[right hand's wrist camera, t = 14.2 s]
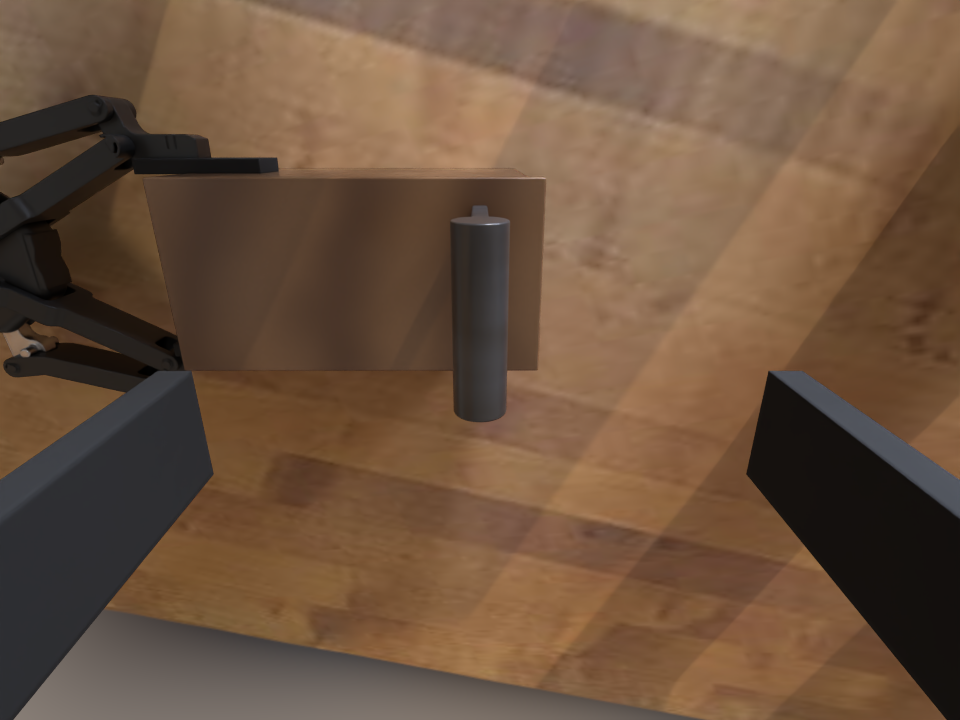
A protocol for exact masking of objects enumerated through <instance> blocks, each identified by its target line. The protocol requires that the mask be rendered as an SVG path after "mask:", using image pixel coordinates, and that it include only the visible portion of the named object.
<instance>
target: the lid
mask: <svg viewBox="0 0 960 720" xmlns="http://www.w3.org/2000/svg"><path fill="white" fill-rule="evenodd" d="M143 183H144V188H145V192H146V197H147V201H148V206H149V210H150V215H151V219H152V224H153V228H154V233H155V237H156V242H157V246H158V251H159V256H160V260H161V265H162V269H163V274H164V278H165V283H166V287H167V292H168V296H169V301H170V305H171V310H172V314H173V319H174V323H175V328H176V333H177V337H178V342H179V346H180V351H181V355H182V360H183V364H184V369H185V370H186V371H329V370H453V397H454V412H455V414H456V415H457V416H458V417H459V418H461V419H464V420H467V421H471V422H489V421H493V420H496V419H499V418H501V417H502V416H503V415H504V414H505V412H506V397H507V370H538V357H539V334H540V311H541V288H542V265H543V242H544V219H545V195H546V178H545V177H144V178H143Z"/></svg>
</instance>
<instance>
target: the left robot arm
mask: <svg viewBox="0 0 960 720" xmlns="http://www.w3.org/2000/svg"><path fill="white" fill-rule="evenodd" d="M98 132H103V134H101V135H99V136H100V137H103V138H105V139H103V140H102V141H100V142H99V143H97V144H96V145H94V146H93V147H91V148H90V149H88V150H87V151H85V152H84V153H82V154H81V155H79V156H78V157H76V158H75V159H73V160H72V161H70V162H69V163H67V164H66V165H64V166H63V167H61V168H60V169H58V170H57V171H55V172H54V173H52V174H51V175H49V176H48V177H46V178H45V179H43V180H42V181H40V182H39V183H37V184H36V185H34V186H33V187H31V188H30V189H28V190H27V191H25V192H24V193H22V194H21V195H19V196H16V197H13V198H10V197H8V196H6V195H5V194H3V193H1V192H0V333H3V335H4V337H5V339H6V341H7V344H8V346H9V348H10V350H11V353H12V355H13V357H11V358H9V359H7V360H5V361H4V364H3V367H4V370H5V371H6V373H8V374H9V375H10V376H13V377H27V376H38V375H48V376H53V377H57V378H62V379H66V380H71V381H76V382H80V383H85V384H89V385H94V386H98V387H103V388H108V389H112V390H117V391H121V392H126V393H127V392H128V391H129V390H131V389H132V388H134V387H135V386H137V385H138V384H140V383H141V382H142V381H144V380H145V379H147V378H148V377H150V376H151V375H153V374H154V373H155V372H157V371H186V370H185V369H184V364H183V360H182V355H181V351H180V346H179V342H178V337H177V336H176V335H174V334H172V333H170V332H168V331H165V330H163V329H161V328H159V327H157V326H154V325H152V324H150V323H148V322H146V321H143V320H141V319H139V318H137V317H135V316H132V315H130V314H128V313H126V312H124V311H121V310H119V309H117V308H115V307H113V306H110V305H108V304H106V303H104V302H102V301H99V300H97V299H95V298H93V294H92V293H91V292H89V291H87V290H85V289H83V288H81V287H79V286H76V285H74V284H72V283H70V282H72V280H71V276H70V273H69V269H68V268H67V266H66V264H65V262H64V260H63V259H62V257H61V241H60V238H59V234H58V231H57V229H52V228H51V227H50V226H51V225H53V224H54V223H56V222H57V221H59V220H60V219H62V218H64V217H65V216H67V215H68V214H69V213H70V210H71V209H73V208H74V207H76V206H77V205H79V204H80V203H82V202H84V201H85V200H87V199H88V198H90V197H91V196H93V195H94V194H96V193H97V192H99V191H101V190H102V189H104V188H105V187H107V186H108V185H110V184H111V183H113V182H114V181H116V180H118V179H119V178H121V177H122V176H124V175H125V174H127V173H128V172H130V171H131V170H133V169H134V173H135V174H262V173H270V172H279V169H278V161H277V158H211V153H210V148H209V142H208V139H207V138H204V137H202V136H199V135H188V134H149V133H147V132H145V131H144V130H143V129H142V128H141V127H140V125H139V124H138V122H137V120H136V110H135V107H134V106H133V104H132V103H131V102H129V101H128V100H125V99H120V98H113V97H105V96H98V95H88V96H85V97H82V98H78V99H75V100H72V101H68V102H65V103H62V104H59V105H55V106H52V107H49V108H45V109H42V110H39V111H36V112H32V113H29V114H26V115H22V116H19V117H16V118H13V119H9V120H6V121H3V122H0V165H3V163H4V159H3V157H5V156H19V155H24V154H28V153H31V152H34V151H38V150H41V149H45V148H48V147H51V146H55V145H58V144H61V143H65V142H68V141H71V140H75V139H78V138H82V137H85V136H88V135H92V134H95V133H98ZM35 321H36V322H39V323H41V324H43V325H46V326H59V327H63V328H65V329H67V330H69V331H72V332H74V333H76V334H79V335H81V336H83V337H85V338H88V339H90V340H92V341H94V342H97V343H99V344H101V345H104V346H106V347H108V348H110V349H113V350H115V351H117V352H119V353H116V352H112V351H107V350H103V349H98V348H94V347H89V346H85V345H80V344H74V343H59V340H58V338H56V337H55V336H51V337H48V336H45V335H39V334H37V333H36V332H34V331H33V330H32V329H31V327H30V325H31V324H32V323H34V322H35ZM120 353H122V354H120Z"/></svg>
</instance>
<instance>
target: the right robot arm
mask: <svg viewBox="0 0 960 720" xmlns="http://www.w3.org/2000/svg"><path fill="white" fill-rule="evenodd" d="M212 476H213V469H212V464H211V460H210V455H209V450H208V446H207V441H206V437H205V432H204V427H203V423H202V418H201V413H200V409H199V404H198V399H197V395H196V390H195V386H194V381H193V376H192V372H191V371H157V372H155V373H154V374H153V375H151V376H150V377H148V378H147V379H145V380H144V381H142V382H141V383H140V384H138V385H137V386H135V387H134V388H132V389H131V390H129V391H128V392H127V393H125V394H124V395H122V396H121V397H119V398H118V399H116V400H115V401H114V402H112V403H111V404H109V405H108V406H106V407H105V408H103V409H102V410H101V411H99V412H98V413H96V414H95V415H93V416H92V417H90V418H89V419H88V420H86V421H85V422H83V423H82V424H80V425H79V426H77V427H76V428H75V429H73V430H72V431H70V432H69V433H67V434H66V435H65V436H63V437H62V438H60V439H59V440H57V441H56V442H54V443H53V444H52V445H50V446H49V447H47V448H46V449H44V450H43V451H41V452H40V453H39V454H37V455H36V456H34V457H33V458H31V459H30V460H28V461H27V462H26V463H24V464H23V465H21V466H20V467H18V468H17V469H15V470H14V471H13V472H11V473H10V474H8V475H7V476H5V477H4V478H2V479H1V480H0V720H13V719H14V718H15V717H16V716H17V714H18V713H19V712H20V711H21V710H22V708H23V707H24V706H25V705H26V703H27V702H28V701H29V700H30V699H31V697H32V696H33V695H34V694H35V692H36V691H37V690H38V689H39V687H40V686H41V685H42V684H43V683H44V681H45V680H46V679H47V678H48V677H49V675H50V674H51V673H52V672H53V670H54V669H55V668H56V667H57V665H58V664H59V663H60V662H61V661H62V659H63V658H64V657H65V656H66V654H67V653H68V652H69V651H70V650H71V648H72V647H73V646H74V645H75V643H76V642H77V641H78V640H79V638H80V637H81V636H82V635H83V634H84V632H85V631H86V630H87V629H88V627H89V626H90V625H91V624H92V622H93V621H94V620H95V619H96V618H97V616H98V615H99V614H100V613H101V612H102V610H103V609H104V608H105V607H106V605H107V604H108V603H109V602H110V601H111V599H112V598H113V597H114V596H115V594H116V593H117V592H118V591H119V589H120V588H121V587H122V586H123V585H124V583H125V582H126V581H127V580H128V578H129V577H130V576H131V575H132V574H133V572H134V571H135V570H136V569H137V567H138V566H139V565H140V564H141V563H142V561H143V560H144V559H145V558H146V556H147V555H148V554H149V553H150V552H151V550H152V549H153V548H154V547H155V545H156V544H157V543H158V542H159V540H160V539H161V538H162V537H163V536H164V534H165V533H166V532H167V531H168V529H169V528H170V527H171V526H172V525H173V523H174V522H175V521H176V520H177V518H178V517H179V516H180V515H181V514H182V512H183V511H184V510H185V509H186V507H187V506H188V505H189V504H190V502H191V501H192V500H193V499H194V498H195V496H196V495H197V494H198V493H199V491H200V490H201V489H202V488H203V487H204V485H205V484H206V483H207V482H208V480H209V479H210V478H211V477H212ZM747 476H748V477H749V478H750V479H751V480H752V482H753V483H754V484H755V485H756V487H757V488H758V489H759V490H760V491H761V493H762V494H763V495H764V496H765V498H766V499H767V500H768V501H769V502H770V504H771V505H772V506H773V507H774V509H775V510H776V511H777V512H778V514H779V515H780V516H781V517H782V518H783V520H784V521H785V522H786V523H787V525H788V526H789V527H790V528H791V529H792V531H793V532H794V533H795V534H796V536H797V537H798V538H799V539H800V540H801V542H802V543H803V544H804V545H805V547H806V548H807V549H808V550H809V552H810V553H811V554H812V555H813V556H814V558H815V559H816V560H817V561H818V563H819V564H820V565H821V566H822V567H823V569H824V570H825V571H826V572H827V574H828V575H829V576H830V577H831V578H832V580H833V581H834V582H835V583H836V585H837V586H838V587H839V588H840V589H841V591H842V592H843V593H844V594H845V596H846V597H847V598H848V599H849V601H850V602H851V603H852V604H853V605H854V607H855V608H856V609H857V610H858V612H859V613H860V614H861V615H862V616H863V618H864V619H865V620H866V621H867V623H868V624H869V625H870V626H871V627H872V629H873V630H874V631H875V632H876V634H877V635H878V636H879V637H880V639H881V640H882V641H883V642H884V643H885V645H886V646H887V647H888V648H889V650H890V651H891V652H892V653H893V654H894V656H895V657H896V658H897V659H898V661H899V662H900V663H901V664H902V665H903V667H904V668H905V669H906V670H907V672H908V673H909V674H910V675H911V677H912V678H913V679H914V680H915V681H916V683H917V684H918V685H919V686H920V688H921V689H922V690H923V691H924V692H925V694H926V695H927V696H928V697H929V699H930V700H931V701H932V702H933V703H934V705H935V706H936V707H937V708H938V710H939V711H940V712H941V713H942V714H943V716H944V717H945V718H946V719H947V720H960V480H959V479H958V478H956V477H955V476H953V475H952V474H950V473H949V472H947V471H946V470H945V469H943V468H942V467H940V466H939V465H937V464H936V463H934V462H933V461H932V460H930V459H929V458H927V457H926V456H924V455H923V454H921V453H920V452H919V451H917V450H916V449H914V448H913V447H911V446H910V445H908V444H907V443H906V442H904V441H903V440H901V439H900V438H898V437H897V436H895V435H894V434H893V433H891V432H890V431H888V430H887V429H885V428H884V427H883V426H881V425H880V424H878V423H877V422H875V421H874V420H872V419H871V418H870V417H868V416H867V415H865V414H864V413H862V412H861V411H859V410H858V409H857V408H855V407H854V406H852V405H851V404H849V403H848V402H846V401H845V400H844V399H842V398H841V397H839V396H838V395H836V394H835V393H833V392H832V391H831V390H829V389H828V388H826V387H825V386H823V385H822V384H820V383H819V382H818V381H816V380H815V379H813V378H812V377H810V376H809V375H807V374H806V373H805V372H803V371H769V372H768V376H767V381H766V386H765V390H764V395H763V399H762V404H761V409H760V413H759V418H758V423H757V427H756V432H755V437H754V441H753V446H752V450H751V455H750V460H749V464H748V469H747Z"/></svg>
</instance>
